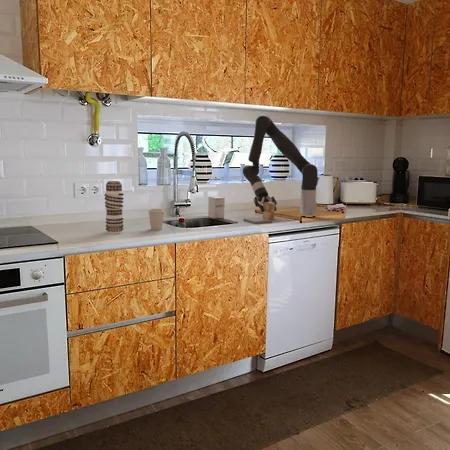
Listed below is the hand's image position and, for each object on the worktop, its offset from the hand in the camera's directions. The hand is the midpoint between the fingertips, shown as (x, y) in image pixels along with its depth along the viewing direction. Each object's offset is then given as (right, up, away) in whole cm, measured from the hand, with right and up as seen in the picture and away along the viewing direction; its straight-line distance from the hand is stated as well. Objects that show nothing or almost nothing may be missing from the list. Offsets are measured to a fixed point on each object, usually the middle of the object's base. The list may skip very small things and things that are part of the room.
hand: (269, 211), depth 282 cm
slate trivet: (-8, -6, -10) cm, 14 cm away
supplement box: (-32, -4, +4) cm, 33 cm away
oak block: (-1, -5, +2) cm, 5 cm away
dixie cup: (-62, -11, -41) cm, 76 cm away
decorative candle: (-81, -12, -53) cm, 97 cm away
